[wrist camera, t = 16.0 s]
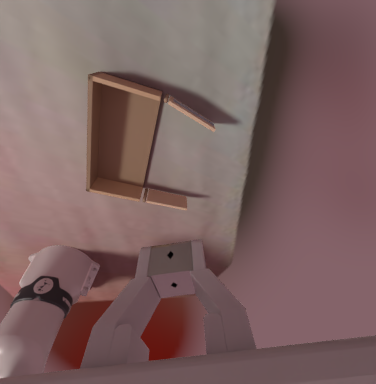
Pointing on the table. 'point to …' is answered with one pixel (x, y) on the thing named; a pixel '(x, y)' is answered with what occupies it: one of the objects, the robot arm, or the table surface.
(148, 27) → the table surface
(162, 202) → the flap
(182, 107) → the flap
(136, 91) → the carton
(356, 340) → the robot arm
